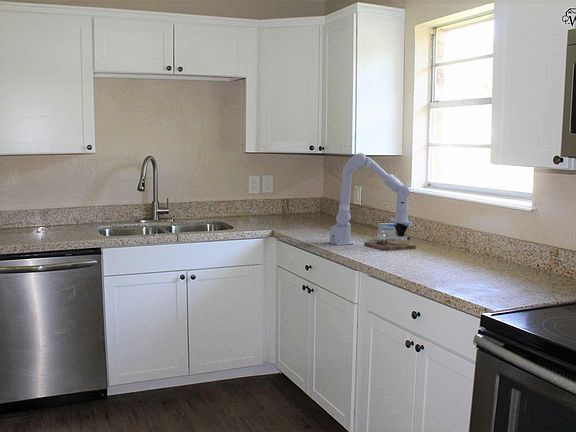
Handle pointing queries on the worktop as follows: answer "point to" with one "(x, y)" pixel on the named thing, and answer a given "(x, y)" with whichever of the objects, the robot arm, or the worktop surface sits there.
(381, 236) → the ball-knob lever
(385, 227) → the medicine box
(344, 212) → the robot arm
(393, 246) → the stand
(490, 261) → the worktop surface
